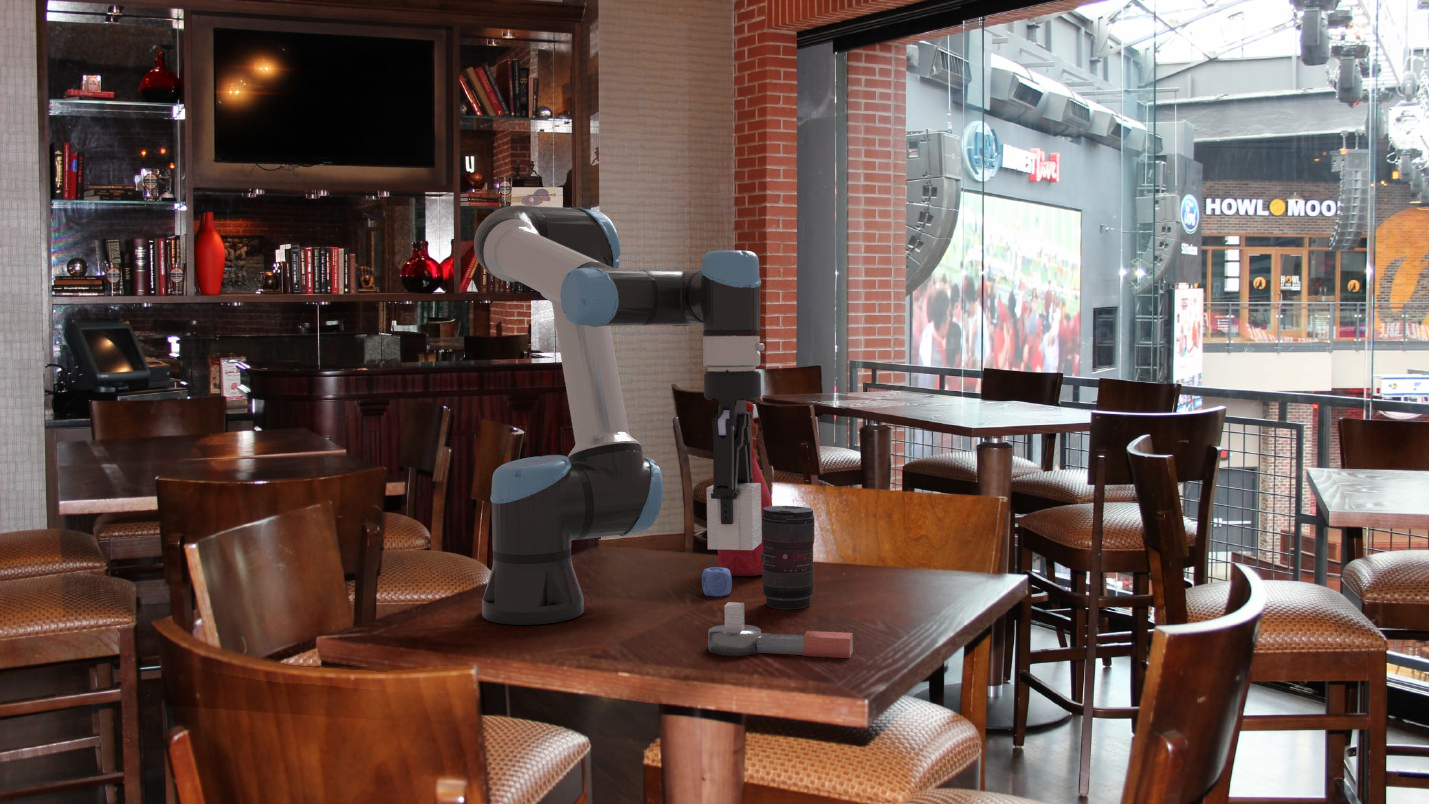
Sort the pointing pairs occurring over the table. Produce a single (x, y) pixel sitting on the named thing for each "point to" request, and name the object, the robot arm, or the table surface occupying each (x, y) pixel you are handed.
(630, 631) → the table surface
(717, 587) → the decorative dice
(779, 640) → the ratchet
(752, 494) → the light grey block
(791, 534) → the camera lens
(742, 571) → the wine bottle
